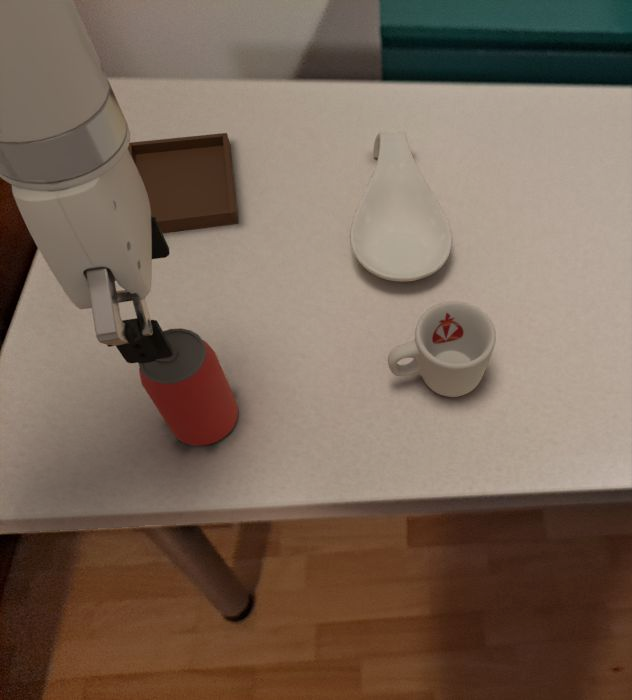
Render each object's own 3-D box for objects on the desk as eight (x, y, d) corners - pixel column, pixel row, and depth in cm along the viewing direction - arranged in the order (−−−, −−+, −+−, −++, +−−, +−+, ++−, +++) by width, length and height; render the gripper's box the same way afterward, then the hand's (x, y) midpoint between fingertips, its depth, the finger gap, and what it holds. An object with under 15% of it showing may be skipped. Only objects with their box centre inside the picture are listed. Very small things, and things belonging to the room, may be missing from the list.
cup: (397, 419, 70) (396, 380, 64) (381, 355, 74) (379, 312, 68) (497, 398, 73) (506, 358, 66) (476, 337, 77) (483, 293, 70)
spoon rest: (456, 292, 80) (461, 252, 74) (355, 300, 78) (351, 259, 72) (432, 153, 92) (434, 109, 86) (344, 157, 91) (339, 112, 85)
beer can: (181, 387, 70) (144, 320, 60) (245, 392, 71) (219, 325, 61) (163, 446, 67) (120, 384, 57) (231, 450, 67) (201, 390, 57)
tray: (131, 237, 81) (125, 225, 79) (131, 155, 88) (126, 142, 86) (238, 223, 83) (235, 211, 81) (230, 144, 90) (227, 132, 89)
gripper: (-6, 38, 42) (101, 228, 57) (-44, 250, 33) (95, 411, 48) (123, 27, 43) (196, 216, 58) (119, 228, 35) (206, 392, 49)
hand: (150, 304), depth 53 cm, fingers open, 9 cm apart
